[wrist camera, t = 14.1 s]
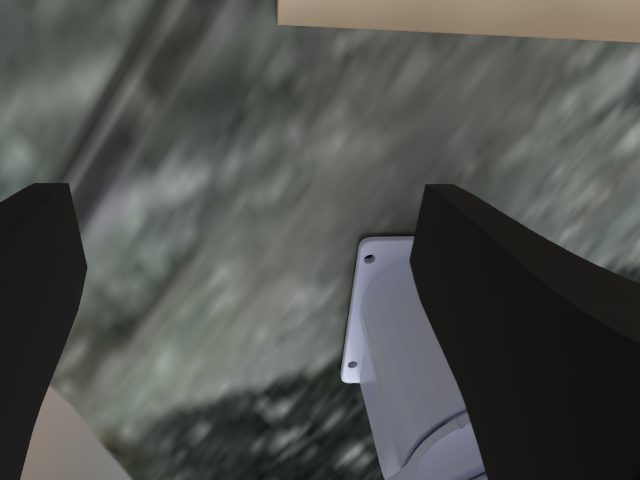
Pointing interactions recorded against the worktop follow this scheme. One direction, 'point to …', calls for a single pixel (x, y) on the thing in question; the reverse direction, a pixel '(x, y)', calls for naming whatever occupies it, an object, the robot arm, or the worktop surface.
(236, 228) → the worktop surface
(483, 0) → the game board
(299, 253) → the worktop surface
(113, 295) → the worktop surface
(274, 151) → the worktop surface
